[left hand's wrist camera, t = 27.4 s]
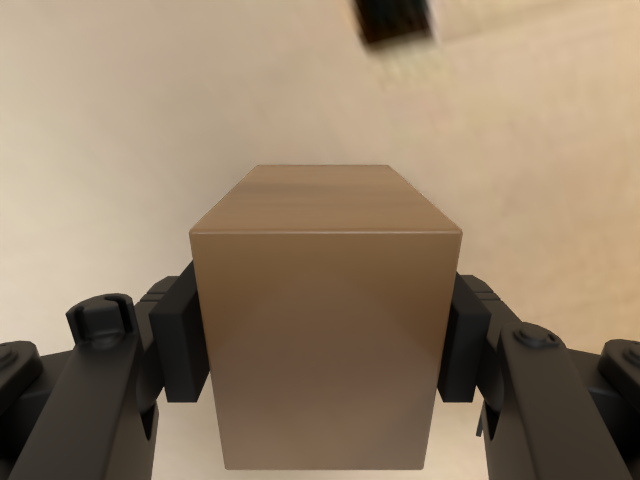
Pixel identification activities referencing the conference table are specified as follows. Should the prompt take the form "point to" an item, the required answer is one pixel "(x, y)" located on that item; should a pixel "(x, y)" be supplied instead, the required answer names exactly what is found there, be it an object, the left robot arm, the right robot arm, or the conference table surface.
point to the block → (324, 316)
